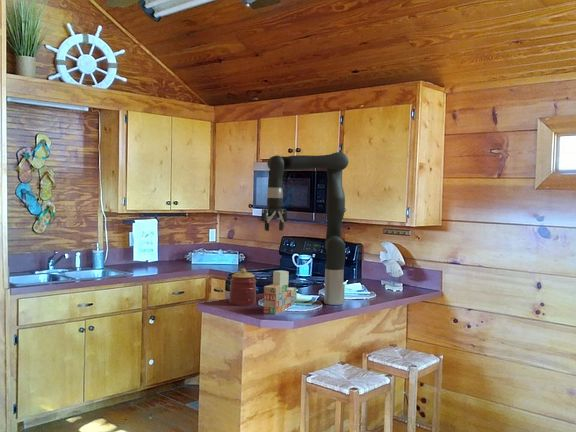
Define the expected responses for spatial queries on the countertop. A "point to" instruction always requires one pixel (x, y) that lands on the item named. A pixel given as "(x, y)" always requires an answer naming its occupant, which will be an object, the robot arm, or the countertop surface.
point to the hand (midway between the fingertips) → (274, 230)
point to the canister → (242, 289)
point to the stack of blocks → (278, 298)
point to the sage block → (280, 277)
